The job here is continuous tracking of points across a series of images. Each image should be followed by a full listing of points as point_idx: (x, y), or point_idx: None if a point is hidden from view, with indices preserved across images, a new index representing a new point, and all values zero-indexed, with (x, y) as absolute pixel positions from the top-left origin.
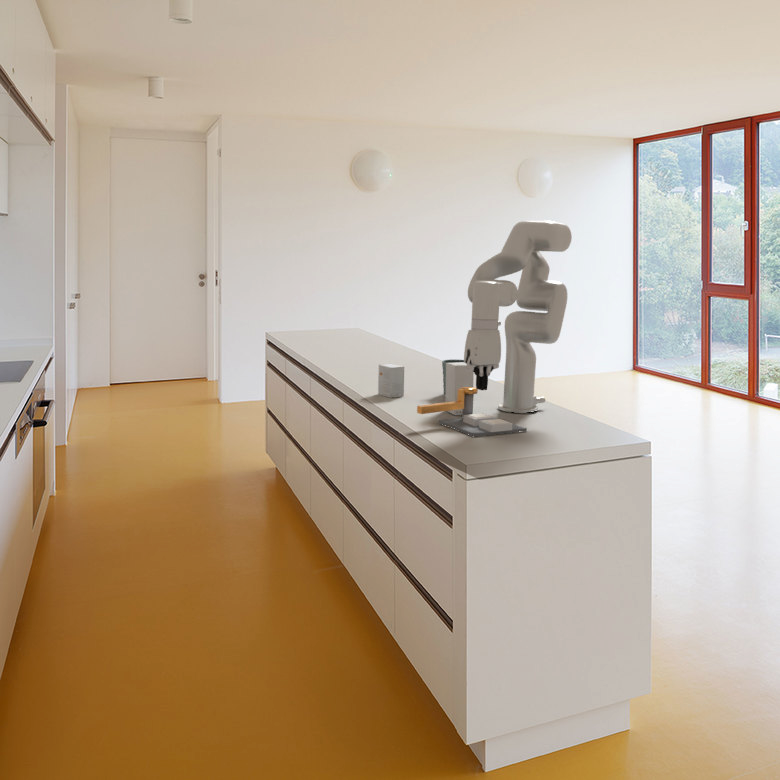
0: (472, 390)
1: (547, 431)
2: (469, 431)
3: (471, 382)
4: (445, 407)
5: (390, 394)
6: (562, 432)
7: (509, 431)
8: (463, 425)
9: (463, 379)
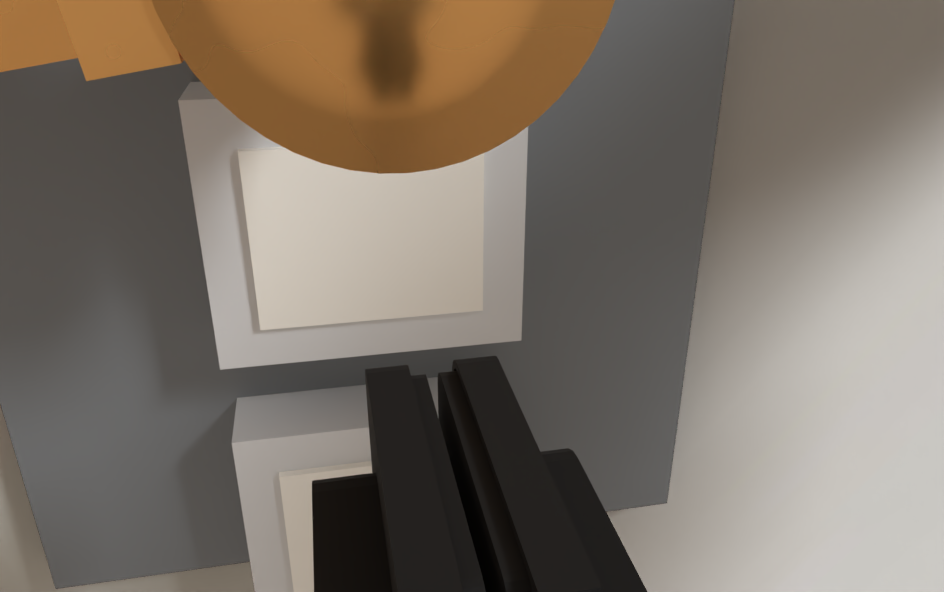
0: (365, 169)
1: (809, 503)
2: (44, 518)
3: None
4: None
5: None
6: (875, 546)
7: None
8: (98, 269)
9: None
